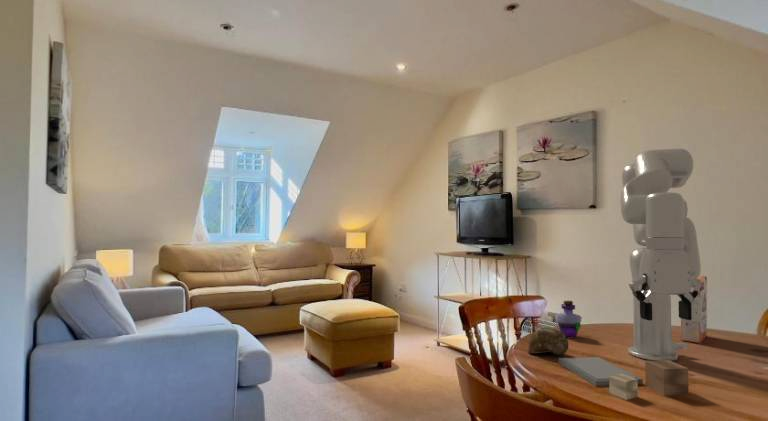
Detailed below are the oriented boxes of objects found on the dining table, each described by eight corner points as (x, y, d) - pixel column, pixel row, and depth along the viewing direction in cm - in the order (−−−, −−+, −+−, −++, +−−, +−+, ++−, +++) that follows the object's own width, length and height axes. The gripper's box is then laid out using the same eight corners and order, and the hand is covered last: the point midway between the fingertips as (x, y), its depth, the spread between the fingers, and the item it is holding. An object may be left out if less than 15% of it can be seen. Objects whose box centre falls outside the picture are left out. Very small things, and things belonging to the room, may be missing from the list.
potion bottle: (579, 340, 148) (579, 304, 148) (552, 336, 153) (552, 301, 153) (584, 335, 155) (583, 300, 156) (558, 331, 160) (557, 297, 160)
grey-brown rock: (572, 353, 133) (571, 326, 133) (563, 361, 125) (563, 332, 126) (533, 347, 139) (533, 321, 140) (523, 354, 132) (523, 327, 132)
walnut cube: (669, 385, 107) (668, 360, 107) (688, 395, 101) (688, 368, 101) (645, 386, 107) (645, 360, 107) (663, 395, 101) (663, 369, 101)
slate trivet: (599, 361, 126) (599, 356, 126) (642, 384, 108) (642, 378, 108) (558, 362, 124) (558, 357, 124) (595, 385, 106) (595, 380, 106)
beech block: (621, 391, 103) (621, 373, 104) (637, 397, 100) (637, 379, 100) (609, 394, 102) (609, 376, 102) (625, 400, 98) (625, 381, 98)
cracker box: (702, 344, 144) (701, 279, 145) (680, 340, 148) (679, 277, 149) (708, 336, 154) (707, 275, 155) (687, 333, 158) (686, 274, 159)
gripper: (686, 245, 109) (687, 315, 109) (619, 244, 108) (620, 316, 107) (711, 246, 102) (713, 322, 101) (640, 245, 100) (641, 323, 99)
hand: (665, 319), depth 104 cm, fingers open, 9 cm apart
